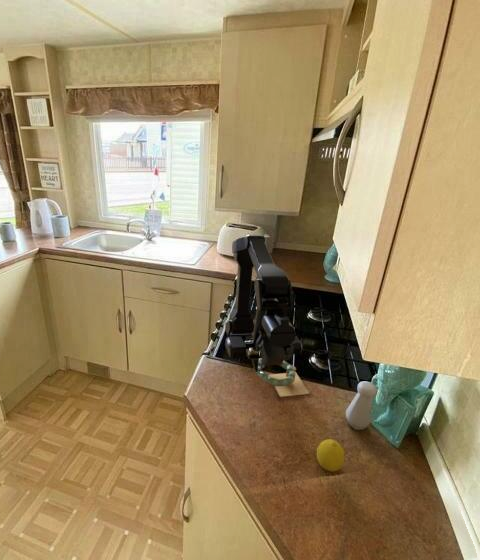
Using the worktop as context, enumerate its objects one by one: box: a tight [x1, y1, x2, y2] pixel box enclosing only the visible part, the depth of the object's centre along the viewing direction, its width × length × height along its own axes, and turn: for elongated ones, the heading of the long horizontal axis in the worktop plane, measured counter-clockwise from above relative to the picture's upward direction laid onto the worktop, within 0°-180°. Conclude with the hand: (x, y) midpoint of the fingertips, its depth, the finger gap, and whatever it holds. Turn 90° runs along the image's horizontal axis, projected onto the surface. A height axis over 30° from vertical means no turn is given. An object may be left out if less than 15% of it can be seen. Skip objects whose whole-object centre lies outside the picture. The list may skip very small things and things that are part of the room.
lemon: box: [316, 438, 346, 473], centre depth 69 cm, size 6×6×8 cm
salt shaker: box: [345, 380, 378, 431], centre depth 79 cm, size 6×6×13 cm
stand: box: [268, 364, 311, 398], centre depth 92 cm, size 9×9×7 cm
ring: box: [255, 357, 297, 387], centre depth 84 cm, size 11×11×2 cm
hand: (259, 370), depth 84 cm, fingers closed on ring, 2 cm apart
